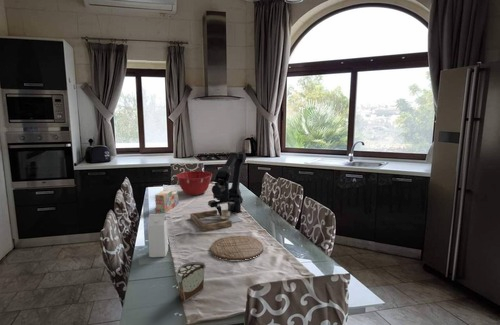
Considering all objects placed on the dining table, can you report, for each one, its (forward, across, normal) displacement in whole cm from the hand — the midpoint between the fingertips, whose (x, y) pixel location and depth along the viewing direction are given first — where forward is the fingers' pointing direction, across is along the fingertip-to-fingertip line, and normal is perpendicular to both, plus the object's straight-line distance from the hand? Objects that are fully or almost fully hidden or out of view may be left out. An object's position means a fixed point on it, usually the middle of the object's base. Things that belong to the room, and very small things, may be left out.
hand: (224, 215), depth 188 cm
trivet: (+3, +10, +41) cm, 43 cm away
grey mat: (+2, -4, 0) cm, 5 cm away
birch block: (+1, 0, 0) cm, 1 cm away
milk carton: (+2, +44, +30) cm, 53 cm away
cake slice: (+2, +41, +66) cm, 78 cm away
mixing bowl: (+3, -3, -70) cm, 70 cm away
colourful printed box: (+3, +26, -39) cm, 47 cm away
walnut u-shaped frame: (+2, +9, 0) cm, 9 cm away
